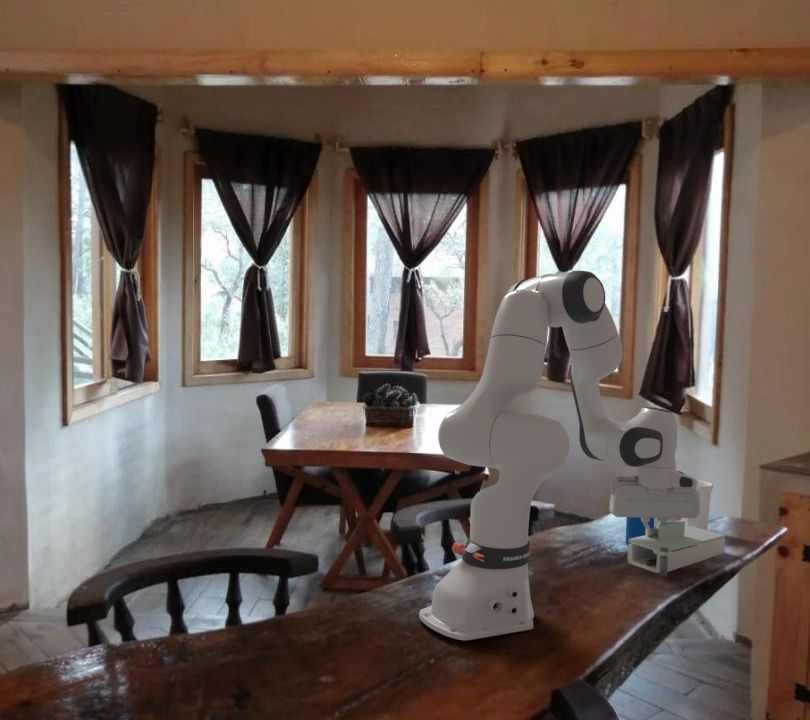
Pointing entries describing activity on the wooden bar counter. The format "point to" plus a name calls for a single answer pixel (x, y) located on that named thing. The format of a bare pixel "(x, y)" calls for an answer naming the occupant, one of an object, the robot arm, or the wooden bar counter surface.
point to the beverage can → (636, 527)
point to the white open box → (679, 552)
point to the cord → (651, 562)
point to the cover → (666, 539)
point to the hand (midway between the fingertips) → (653, 535)
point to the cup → (701, 506)
